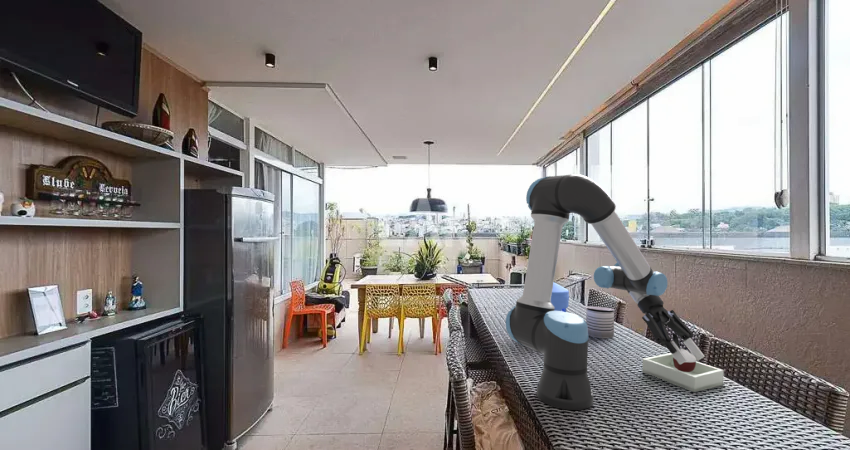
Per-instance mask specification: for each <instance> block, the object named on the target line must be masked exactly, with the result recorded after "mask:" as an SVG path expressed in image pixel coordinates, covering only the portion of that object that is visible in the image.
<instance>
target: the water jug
mask: <svg viewBox="0 0 850 450" xmlns="http://www.w3.org/2000/svg"><path fill="white" fill-rule="evenodd" d="M569 293H570V292H569V289H567V288H565V287H563V286H562V285H560V284H558V283H556V282H554V283H553V289H552V295H551V303H552V305H553V306H554V307H555V309H554V311H564V312H567V308H568V307H569V304H570V303H569V301H570V295H569Z"/></svg>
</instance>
